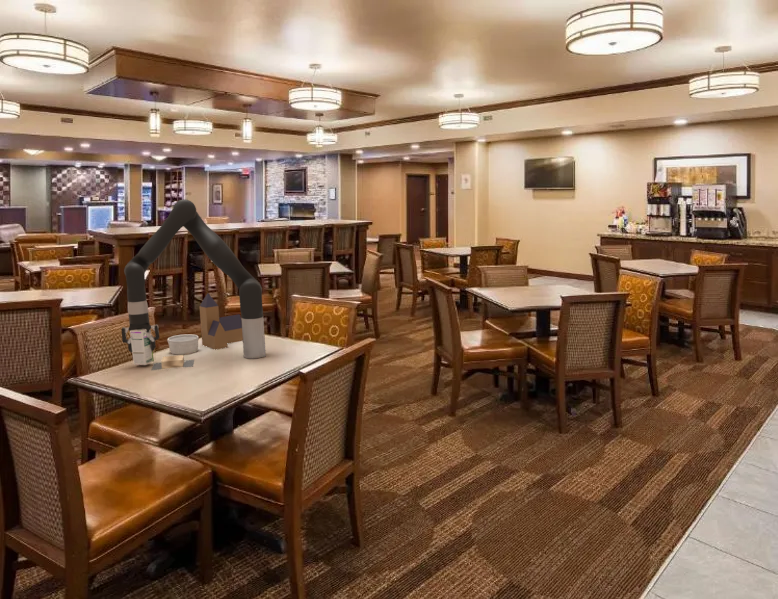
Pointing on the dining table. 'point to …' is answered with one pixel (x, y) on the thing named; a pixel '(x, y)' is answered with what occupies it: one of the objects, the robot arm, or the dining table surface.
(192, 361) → the build mat
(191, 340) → the ramekin
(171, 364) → the maple slab
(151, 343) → the robot arm
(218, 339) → the toy church
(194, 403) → the dining table surface
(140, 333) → the syrup box
